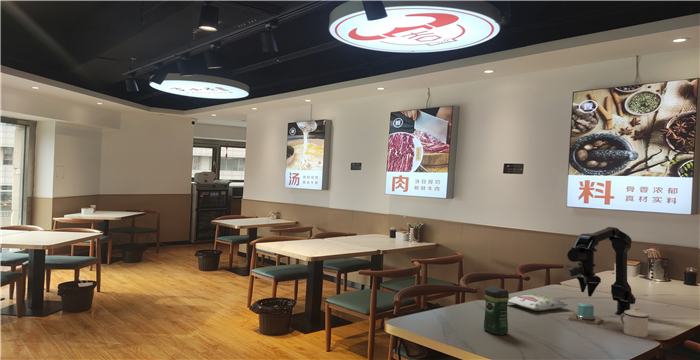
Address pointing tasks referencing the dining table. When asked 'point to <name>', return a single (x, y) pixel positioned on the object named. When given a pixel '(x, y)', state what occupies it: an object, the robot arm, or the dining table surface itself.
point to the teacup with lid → (635, 322)
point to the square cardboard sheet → (585, 319)
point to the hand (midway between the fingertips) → (586, 294)
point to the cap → (585, 310)
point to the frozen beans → (536, 302)
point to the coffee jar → (496, 310)
